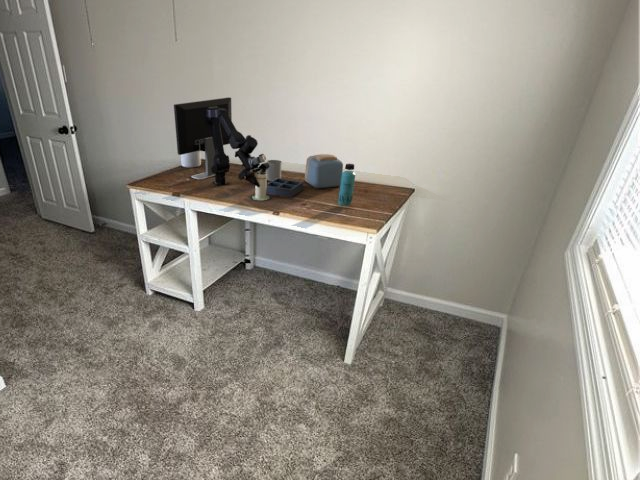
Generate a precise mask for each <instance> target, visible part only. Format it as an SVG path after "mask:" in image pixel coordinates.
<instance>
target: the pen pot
mask: <svg viewBox="0 0 640 480" xmlns="http://www.w3.org/2000/svg"><path fill="white" fill-rule="evenodd" d="M255 177H256V179H257V181H258V183H259V185H260V187H257V186H256V185H254V186H255V187H254V188H255V190H254V195H255V198H257V199H265V198H266V195H267V193H266V187H267V183H268V180H267V173H266V172H255Z"/></svg>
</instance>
